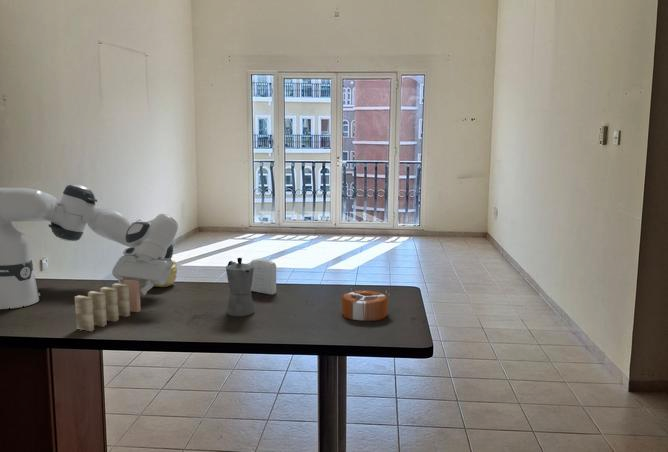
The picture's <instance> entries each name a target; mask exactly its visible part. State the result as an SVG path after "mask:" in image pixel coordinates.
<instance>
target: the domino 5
mask: <svg viewBox="0 0 668 452" xmlns="http://www.w3.org/2000/svg"><path fill="white" fill-rule="evenodd" d="M124 284H126V285H128V286H129V304H130V312H133V313H139V312H141V311H142V308H141V293H139V291H140V289H141V286H140V282H139V281H136V280H128V279H127V280H124Z"/></svg>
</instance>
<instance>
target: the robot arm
mask: <svg viewBox="0 0 668 452" xmlns="http://www.w3.org/2000/svg"><path fill="white" fill-rule="evenodd" d="M96 202H97V203H98V199H96V198H95V194H94V193H93V191H92V190H91V189H89V188H88V187H86V186H84V185H82V184H75V183H74V184H69V185H66V187H65V188H64V190H63V192H62V196H61V198H60V202H59V200H58V199H57V198H56V197H55V196H54V195H52V194H50V193H47V192H45V191H43V190H39V189H34V188H30V187H29V188H28V187H0V310H8V309H9V308H10V309H18V308H23V306H24V307H28V306H31V305H34V304H36V303H38V302H39V301H40V297H41V293H40V292H39V291H38V287H37V281H36V276H35V274H34V273H33V271H34V267H33V266H34V265H33V261H32V259H31V250H30V249H31V247H30V240H29V237H28V235H26V234H25V233H23V232H21V231H19V230H18V229H16V228H15V226H14V225H13V223H12V222H43V221H45V222H46V221H47V222H50V223H49V224H48V227H49V228H50V229H51V232H52V234H53V235H54V236H55V237H57V238H59V239H60V240H62V241H63V242H77V241H79V240H80V239H81V238H82V237H83V236H84V235H83V234H84V231H85V227H86V225H87V227H88V228H90V229H91V231H92V232H94V233H95V234H97V235H98V236H101V237H102V238H105V239H108V240H109V241H113V242H116V243H117V244H120V245H123V246H124V247H125V246H126V247H128V248H125V249H124V250H123V251H122V254H123V255H122V256H120V258H118V260H117V261H116V263H115V264H114V267H113V268H112V273H111V274H112V276H113V277H114V278H115V279H116V280H117V283H119V284H124V280H127V279H128V280H136V281H139V283H142V284H145V285H144V286H143V287H141V286H140V291H139V293H140V295H143V296H144V295H146V294H147V293H148V291H150V289H152V288H153V287H155V286H154V284H158V285H163V284H165V283H166V281H167V279H168V277H169V274H170V270H171V268H172V266H173V261H174V260H173V261H172V258H173V256H174V255H173V254H174V246H173V244H172V243H173V241H174V239H175V238H176V235H177V232H178V229H179V225H178V222H177V221H176V220H175V219H174V218H173V217H172V216H169V215H168V214H165V213H159V214H158V215H156V217H155V218H153V219H151V220H148V221H137V222H133V223H132V222H131V221H130V220H129V219H128V218H127V217H125V215H124V214H123V213H121V212H119V211H118V210H115V209H113V208H109V207H104V206H98V205H96ZM39 296H40V297H39Z"/></svg>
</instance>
